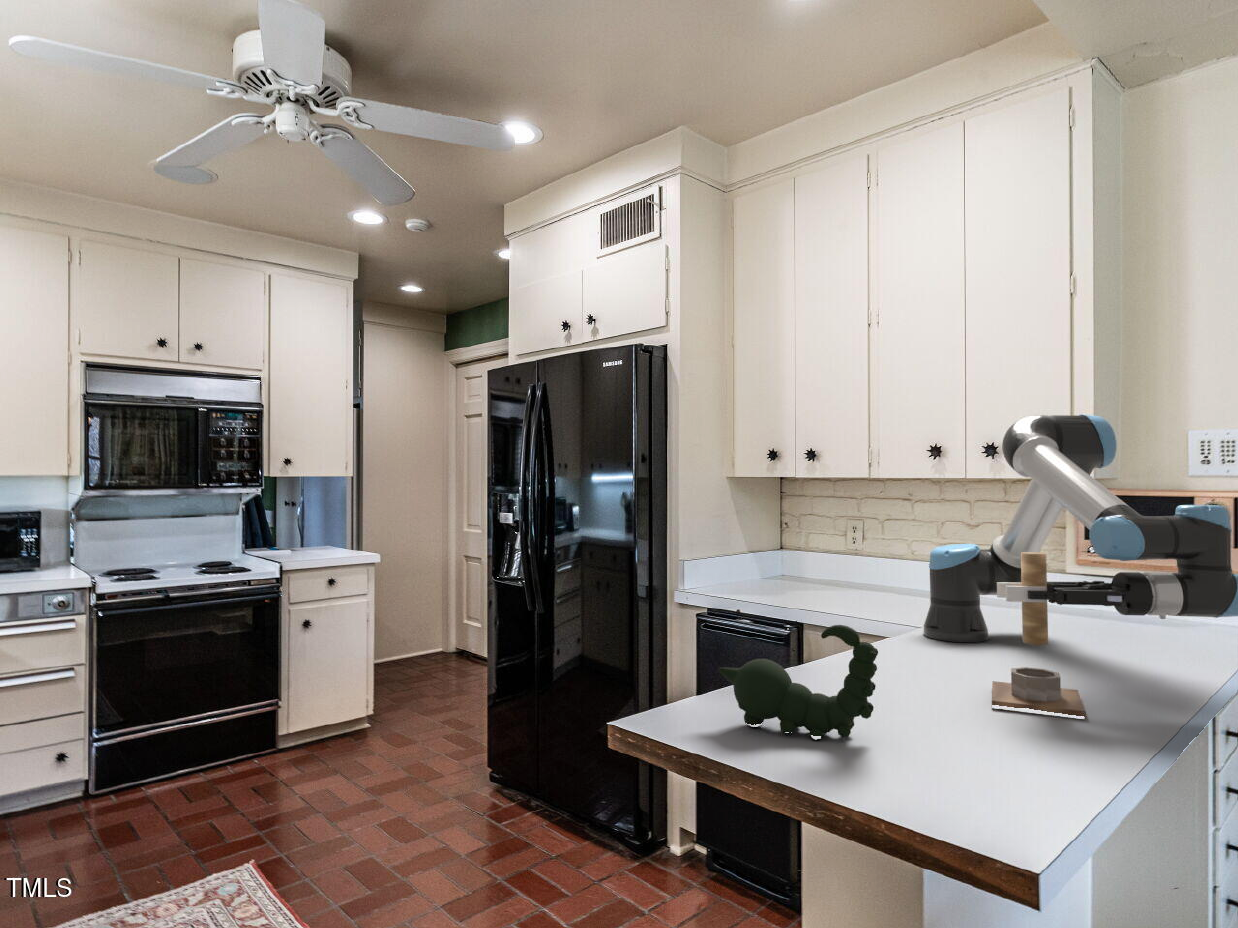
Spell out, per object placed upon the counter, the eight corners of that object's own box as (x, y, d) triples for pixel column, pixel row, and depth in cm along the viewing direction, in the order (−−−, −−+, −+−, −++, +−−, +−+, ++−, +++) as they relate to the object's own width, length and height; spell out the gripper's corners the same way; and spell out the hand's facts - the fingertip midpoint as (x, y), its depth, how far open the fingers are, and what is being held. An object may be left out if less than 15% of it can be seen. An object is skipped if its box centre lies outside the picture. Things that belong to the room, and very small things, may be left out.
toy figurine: (872, 743, 119) (722, 709, 130) (882, 625, 119) (731, 601, 130) (865, 763, 111) (705, 725, 121) (876, 637, 110) (714, 610, 121)
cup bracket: (991, 708, 131) (991, 677, 131) (992, 688, 144) (992, 660, 144) (1085, 720, 125) (1084, 687, 125) (1077, 698, 137) (1077, 668, 137)
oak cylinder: (1023, 643, 133) (1021, 553, 134) (1022, 639, 137) (1020, 551, 137) (1048, 645, 132) (1046, 554, 132) (1047, 641, 135) (1045, 552, 135)
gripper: (1172, 624, 123) (1019, 621, 127) (1120, 607, 140) (987, 604, 144) (1170, 578, 123) (1019, 576, 127) (1119, 567, 140) (986, 565, 144)
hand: (1002, 591), depth 135 cm, fingers closed on oak cylinder, 4 cm apart
